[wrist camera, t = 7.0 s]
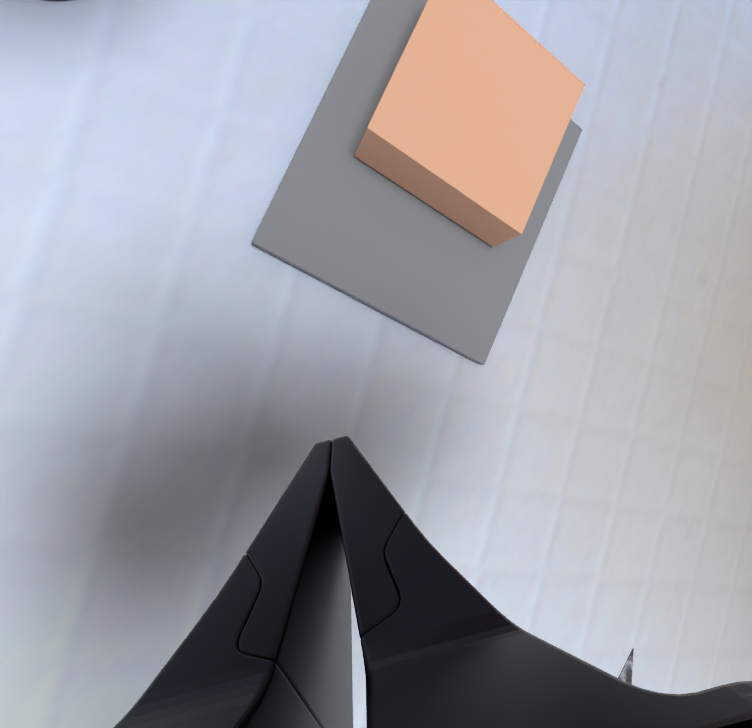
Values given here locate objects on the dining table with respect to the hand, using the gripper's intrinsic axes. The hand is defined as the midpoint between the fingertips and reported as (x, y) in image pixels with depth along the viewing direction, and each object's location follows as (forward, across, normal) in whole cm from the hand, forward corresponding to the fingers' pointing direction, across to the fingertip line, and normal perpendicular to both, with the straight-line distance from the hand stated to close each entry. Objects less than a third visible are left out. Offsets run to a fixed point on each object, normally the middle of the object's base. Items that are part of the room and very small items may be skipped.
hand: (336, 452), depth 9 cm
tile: (+12, -7, -4) cm, 14 cm away
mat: (+14, -7, -5) cm, 17 cm away
